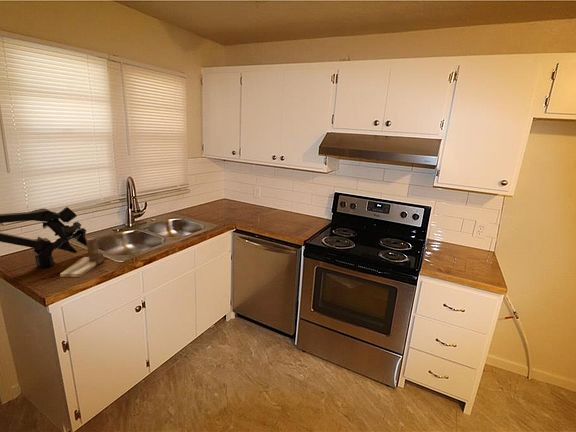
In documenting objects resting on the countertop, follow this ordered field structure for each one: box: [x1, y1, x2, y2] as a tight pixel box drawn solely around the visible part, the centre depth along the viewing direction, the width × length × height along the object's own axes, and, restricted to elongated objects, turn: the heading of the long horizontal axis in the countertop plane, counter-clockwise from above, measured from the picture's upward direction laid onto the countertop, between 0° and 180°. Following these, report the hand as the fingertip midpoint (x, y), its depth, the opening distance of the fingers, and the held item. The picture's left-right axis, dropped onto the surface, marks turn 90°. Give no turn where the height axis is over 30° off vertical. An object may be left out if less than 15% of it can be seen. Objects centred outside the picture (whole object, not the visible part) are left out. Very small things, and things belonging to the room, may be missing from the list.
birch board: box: [59, 256, 98, 278], centre depth 163 cm, size 10×20×2 cm, turn 3°
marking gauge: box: [86, 237, 105, 265], centre depth 167 cm, size 6×5×14 cm
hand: (82, 249), depth 166 cm, fingers open, 9 cm apart
